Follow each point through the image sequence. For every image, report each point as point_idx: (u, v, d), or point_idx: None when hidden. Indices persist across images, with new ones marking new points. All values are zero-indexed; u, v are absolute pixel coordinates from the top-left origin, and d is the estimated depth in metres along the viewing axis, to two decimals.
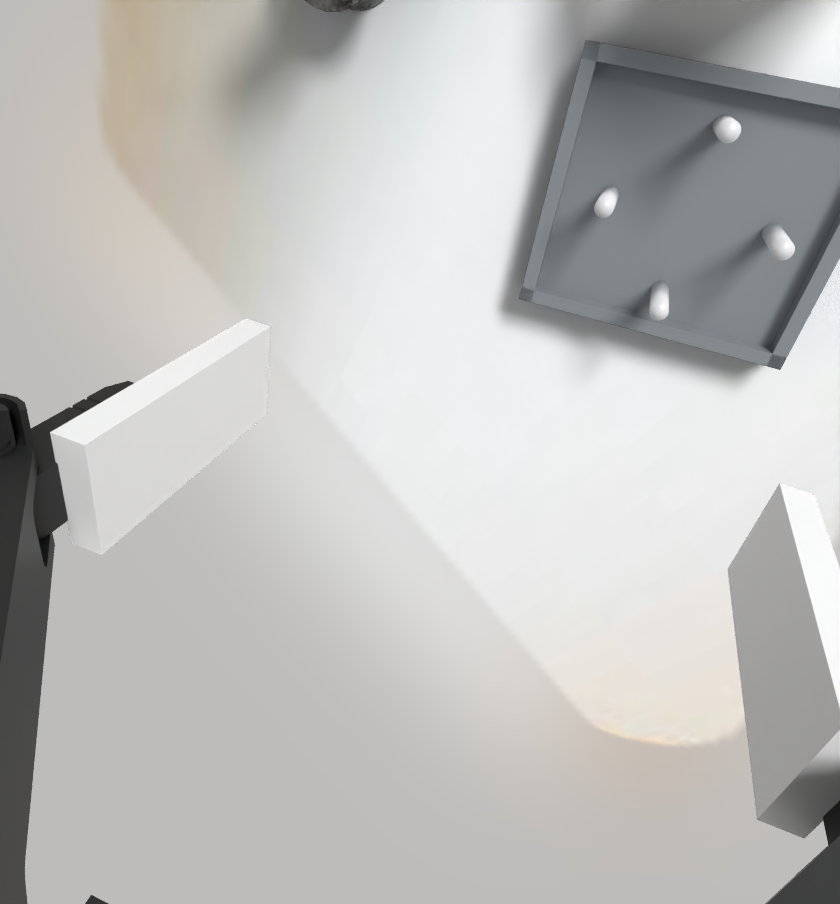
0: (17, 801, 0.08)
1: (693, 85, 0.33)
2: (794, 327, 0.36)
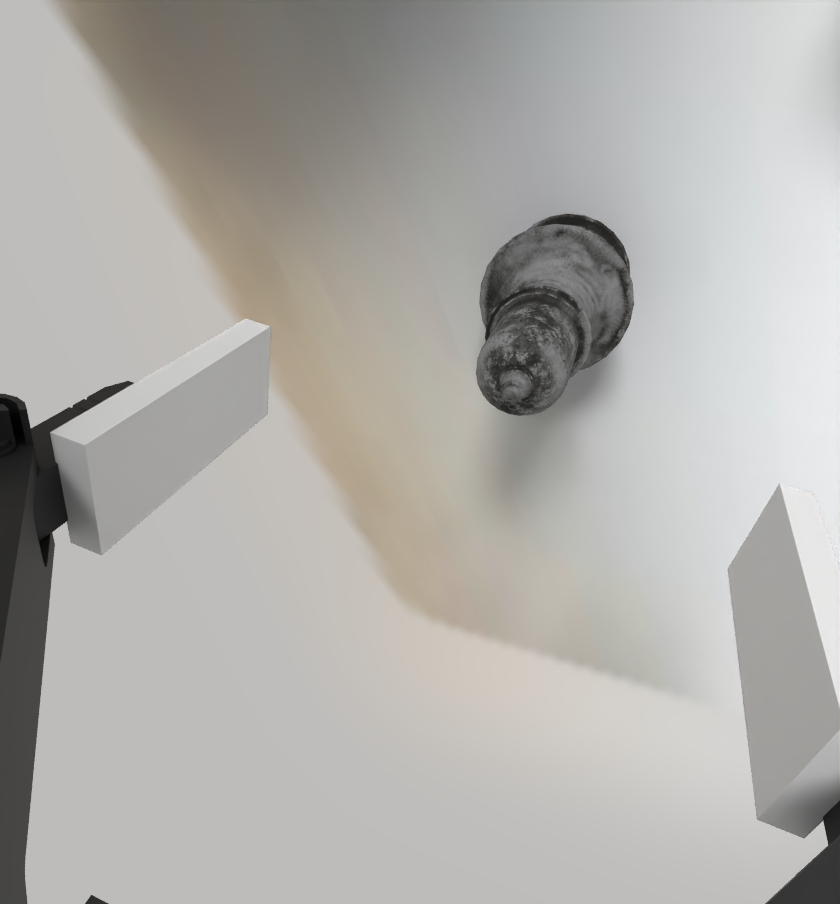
0: (17, 801, 0.08)
1: None
2: None
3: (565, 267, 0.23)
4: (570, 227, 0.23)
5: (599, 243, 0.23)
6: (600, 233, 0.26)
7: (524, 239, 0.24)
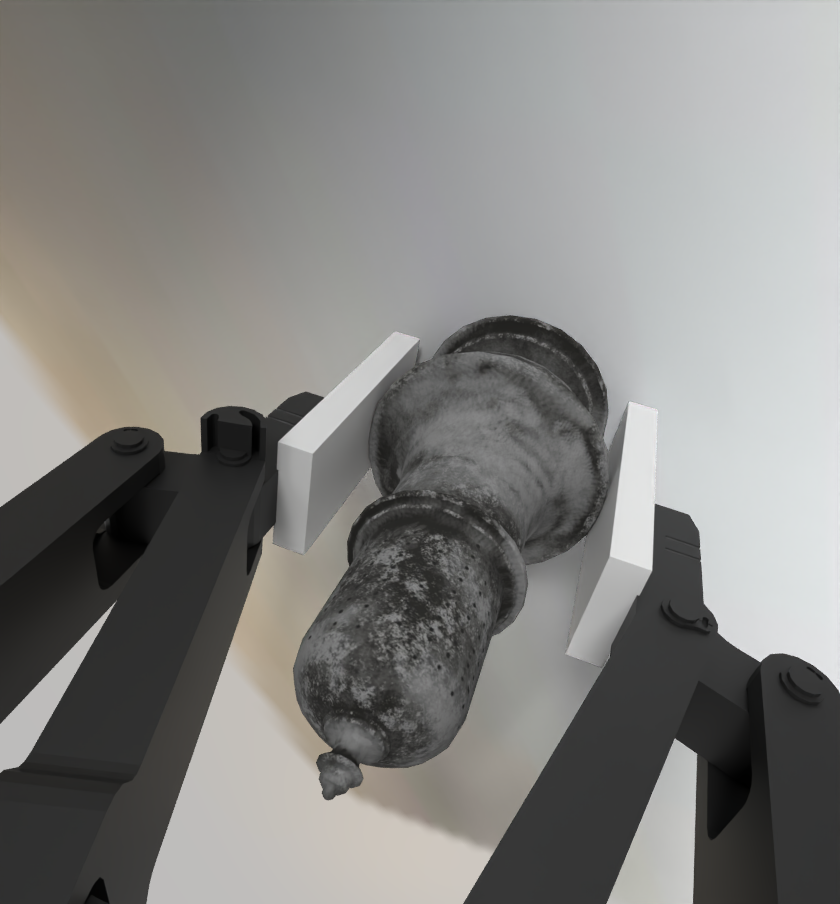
0: (161, 808, 0.08)
1: None
2: None
3: (493, 427, 0.14)
4: (502, 359, 0.14)
5: (550, 388, 0.13)
6: (560, 347, 0.17)
7: (429, 372, 0.14)
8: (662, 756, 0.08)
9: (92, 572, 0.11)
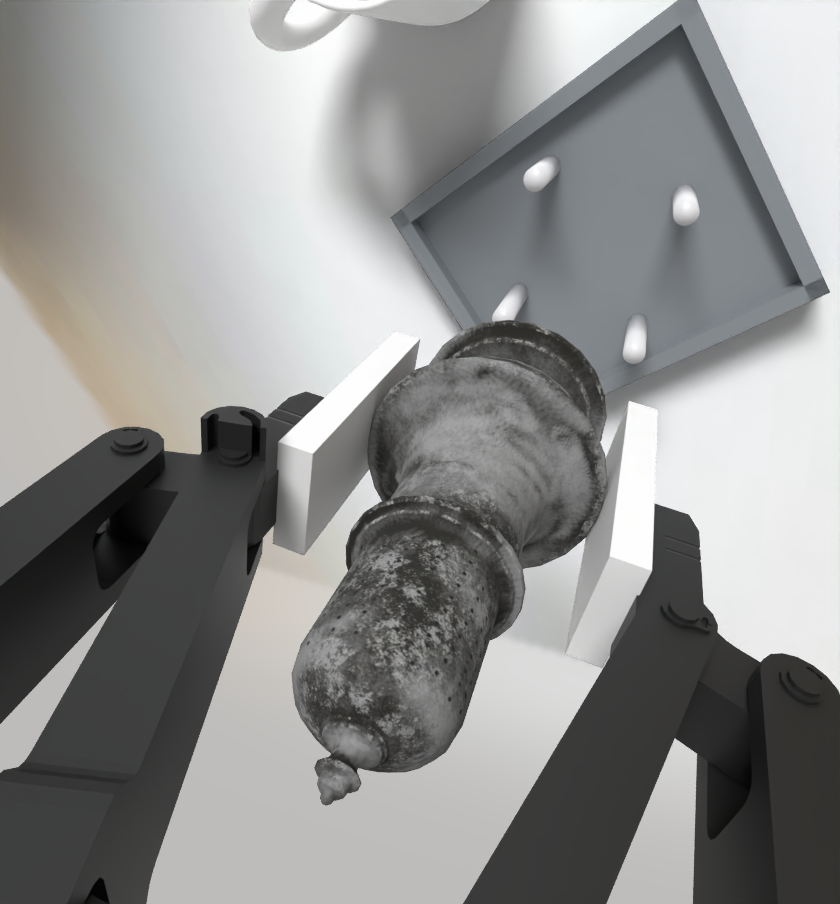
0: (161, 808, 0.08)
1: (498, 165, 0.31)
2: (797, 247, 0.28)
3: (491, 432, 0.14)
4: (500, 365, 0.14)
5: (548, 393, 0.14)
6: (558, 352, 0.17)
7: (427, 377, 0.14)
8: (662, 756, 0.08)
9: (92, 572, 0.11)
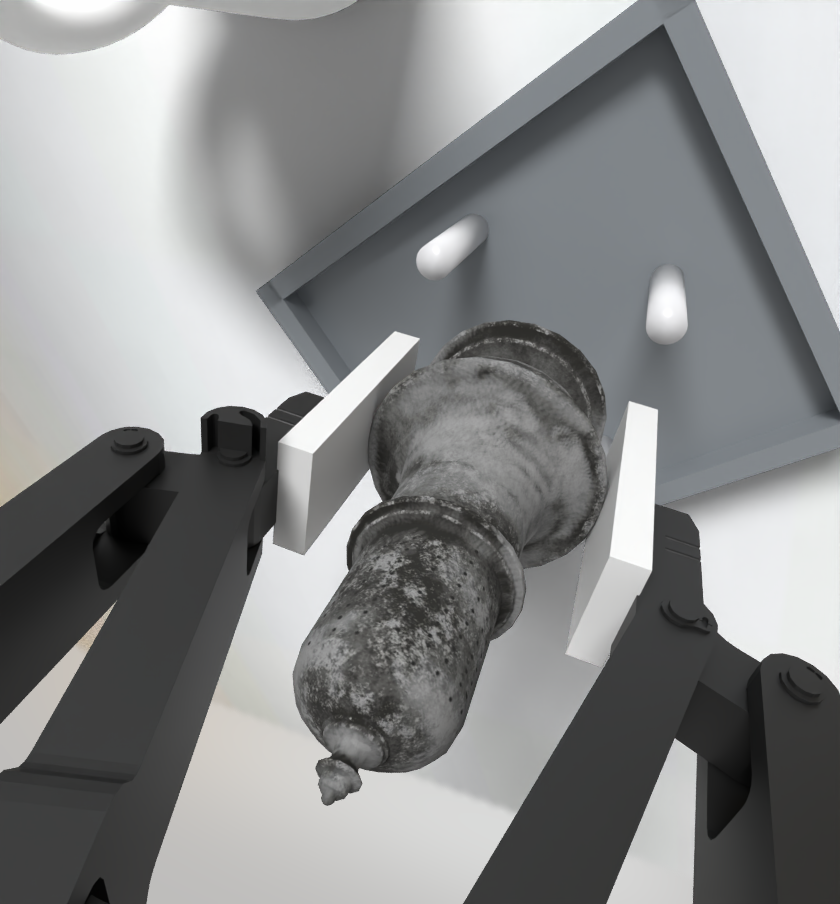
0: (161, 808, 0.08)
1: (401, 224, 0.22)
2: (837, 367, 0.19)
3: (491, 432, 0.14)
4: (500, 365, 0.14)
5: (549, 393, 0.14)
6: (559, 352, 0.17)
7: (428, 377, 0.14)
8: (662, 756, 0.08)
9: (92, 572, 0.11)
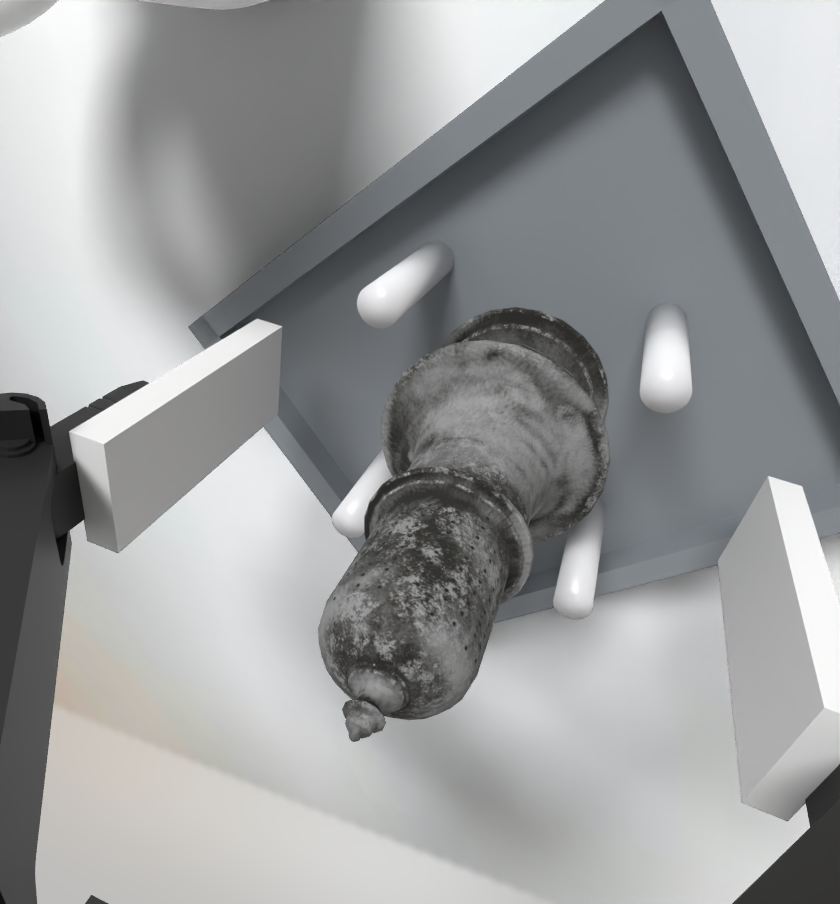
0: (29, 799, 0.08)
1: (352, 252, 0.18)
2: None
3: (500, 411, 0.14)
4: (508, 347, 0.14)
5: (554, 374, 0.14)
6: (563, 337, 0.17)
7: (439, 360, 0.15)
8: None
9: None
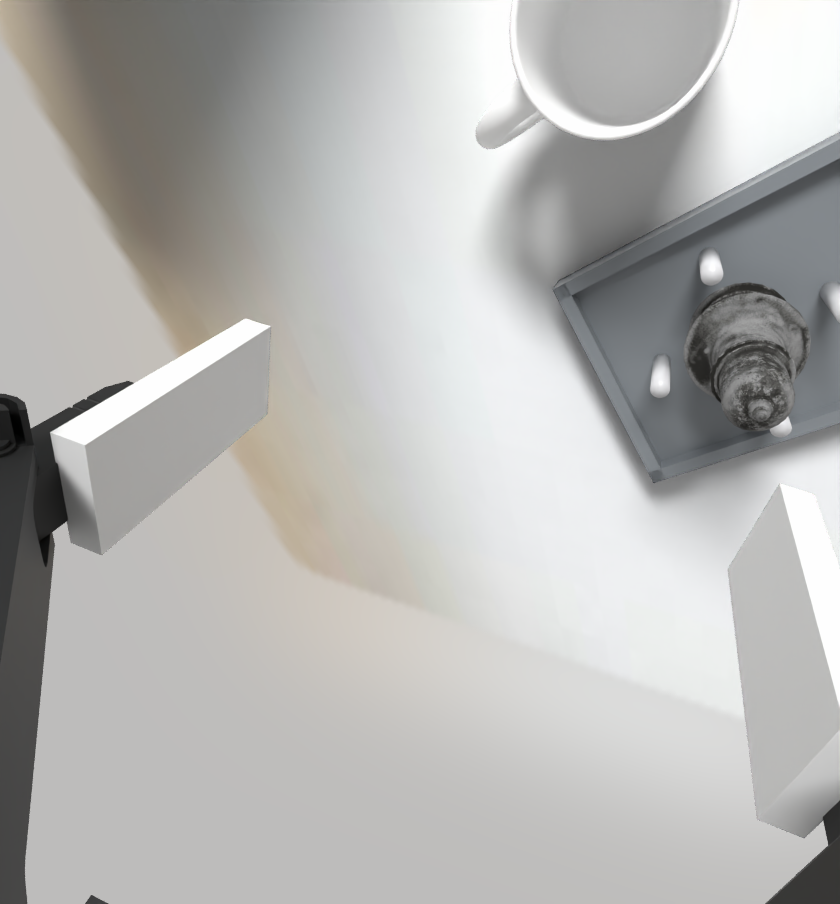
0: (17, 801, 0.08)
1: (659, 251, 0.35)
2: None
3: (764, 325, 0.31)
4: (768, 296, 0.31)
5: (790, 309, 0.31)
6: None
7: (730, 302, 0.32)
8: None
9: None
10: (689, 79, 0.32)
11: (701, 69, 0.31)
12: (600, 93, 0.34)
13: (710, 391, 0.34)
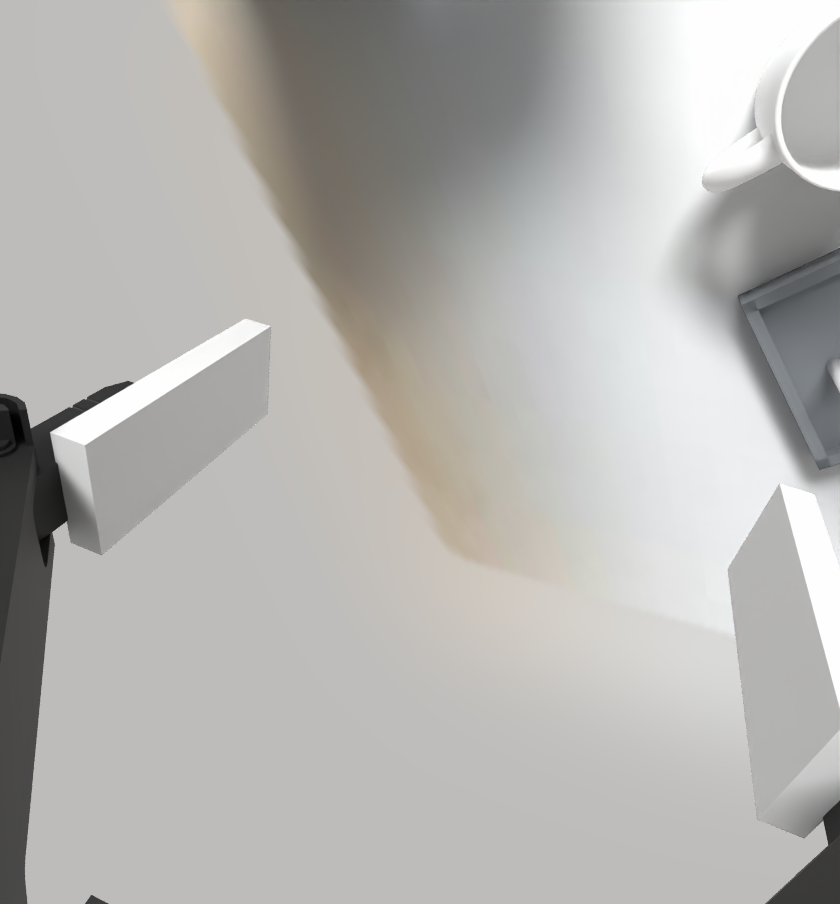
0: (17, 801, 0.08)
1: None
2: None
3: None
4: None
5: None
6: None
7: None
8: None
9: None
10: None
11: None
12: (795, 137, 0.39)
13: None
